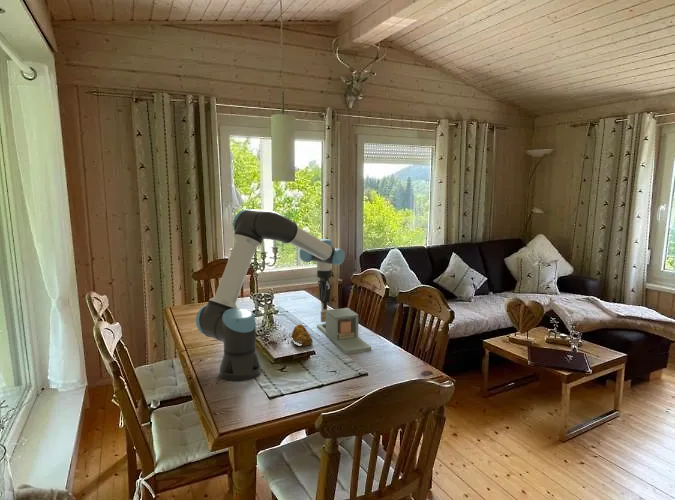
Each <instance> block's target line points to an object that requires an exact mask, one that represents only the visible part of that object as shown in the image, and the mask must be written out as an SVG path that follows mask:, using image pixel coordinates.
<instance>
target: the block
mask: <svg viewBox="0 0 675 500" xmlns="http://www.w3.org/2000/svg"><path fill="white" fill-rule="evenodd" d="M348 332H351V321H350V320H348V319H347V318H346V319H338V333H339V334H340V333H348Z"/></svg>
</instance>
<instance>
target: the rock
mask: <svg viewBox="0 0 675 500" xmlns="http://www.w3.org/2000/svg"><path fill="white" fill-rule="evenodd" d="M290 337H292V338H293V340H294V341H295V342H297V343H299V344H302V345H303V346H302V347H306V346H311V345H312V344H313V342H314V341H313V338H312V336H311V335H310V333H309V332H308V331H307V328H306V327H304V325H303V324H301V323H299V324H297V325H296V326H294V328H293V330H292V332H291V335H290ZM292 338H291V339H292ZM293 340H292V341H293Z"/></svg>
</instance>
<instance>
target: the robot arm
mask: <svg viewBox="0 0 675 500" xmlns="http://www.w3.org/2000/svg"><path fill="white" fill-rule="evenodd" d="M232 221H233V222H232V227H233V231H234V234H233V237H234V239H235V243H234V245H233V247H232V249H231V252H230V256H229V258H228V260H227V263H226V265H225V268H224V271H223V273H222V275H221V278H220V281H219V284H218V286H217V289H216V292H215V294H214V296H213V297H211V298H210V299H208V302H207V305H203V307H201V308H200V309H199V310H198V312H197V313H196V317H195V325H196V327H197V329H198V331H199V332H200V333H201V334H203V335H204V336H206V337H208V338H212V339H215V340H217V341H220V342H223V355H222V360H221V362H220V365H219V376H220V377H221V378H222V379H223V380H226V381H232V382H241V381H247V380H250V379H254V378H255V377H256V378H257V377H258V375H260V374H261V371H262V369H261V367H262V366H261V362H260V360H259V357H258V354H257V348H256V343H257V342H256V341H257V340H256V339H257V338H256V337H257V335H256V334H257V331H256V329H257V327H256V326H257V322H256V317H255V314H254V313H253V312H252V311H251V310H248V309H246V308H239V307H237V304H236V303H237V301H238V298H239V294H240V292H241V289H242V287H243V285H244V284H243V283H244V281H245V278H246V276H247V273H248V270H249V269H250V265H251V263H252V260H253V258H254V256H255V255H254V254H255V252H256V250H257V248H259V247H261V246H262V245H263V244H262V243H263V240H272V241H278V242H280V243H283V244H290V245H292V246H294V247H296V248H298V249H300V250H299V258H300V259H301V261H302V262H306V263H307V262H309V263H310V262H316V269H317V270H316V277H317V278H319V280H317V284H318V294H319V295H318V296H319V300H320V302H321V303H320V308H321V311H326V310H328V303H330V296H331V289H332V285H331V284H330V278H332V277H333V271H332V269H333V266H334V265H335V266H336V265H338V266H340V265H342V264H343V263H344V262H345V258H346V254H345V253H346V252H345V251H344V250H343V249H342V248H339V247H334V246H333V240H331V239H329V238H318V237H316V236H314V235H313V234H311V233H309V232H307V231H305V230H303V229H302V228H300V227H299V226H298V223H296V222H295V221H294V220H291V219H290V218H288V217H286V216H284V215H282V214H280V213H279V212H276V211H273V210H268V209H255V208H246V209H242V210H240V211H239V212H237V213H236V215H235V216H234V218H233V220H232ZM321 311H320V312H321Z"/></svg>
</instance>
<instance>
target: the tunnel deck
mask: <svg viewBox="0 0 675 500" xmlns="http://www.w3.org/2000/svg"><path fill="white" fill-rule="evenodd" d="M346 318H347V319H348V320H350V321H351V332H354V337H350V338H343V339H338V338H337V333H338V319H346ZM316 327H317V329H318V330H319V331H320V332H321V333H323V335H324V336H326V338H328V339H329V340H330V341H331V342H332V343H333V344H334V345H335V346H336V347H337V348H339V350H341V352H343V353H344V354H345V355H349V354H357V353H362V352H369V351H372V346H371V345H369V344H368V343H367V342H365V341H364V340H363V339H362V338H361V337H359V314H358V313H356V312H355V311H354V310H351V308H350V307H344V308H342V307H341V308H335V309H334V308H333V309H327V310H326V322H325V323H318V324H317V325H316Z"/></svg>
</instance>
